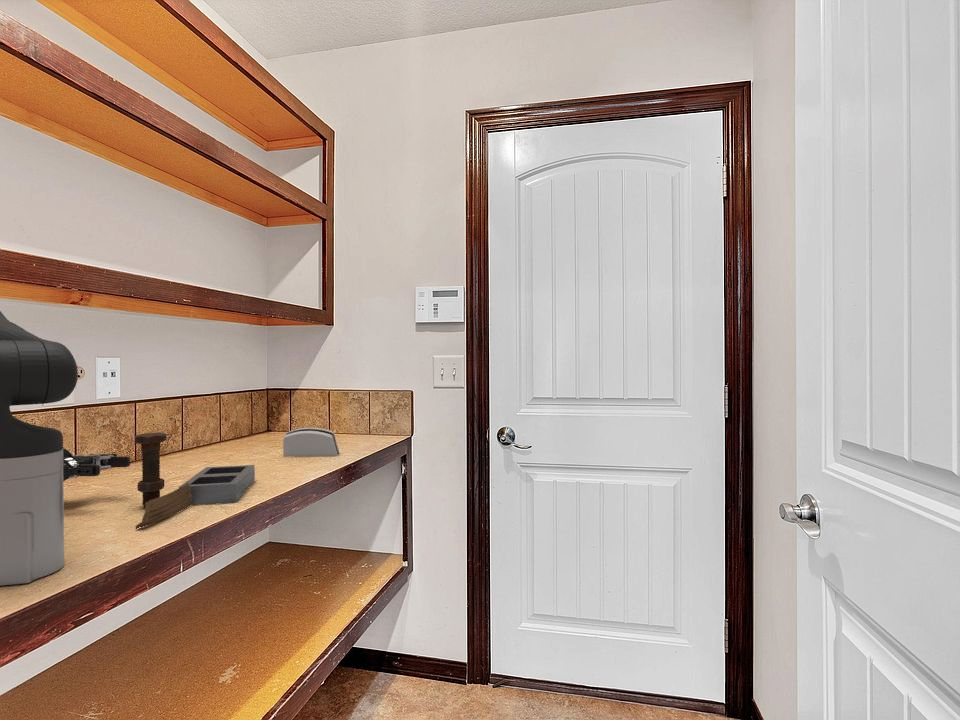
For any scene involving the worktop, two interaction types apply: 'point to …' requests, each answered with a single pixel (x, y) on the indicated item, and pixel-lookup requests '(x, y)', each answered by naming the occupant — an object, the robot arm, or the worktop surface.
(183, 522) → the worktop surface
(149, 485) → the bolt
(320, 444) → the grey napkin holder
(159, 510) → the wood plank
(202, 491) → the two-slot grey tray
